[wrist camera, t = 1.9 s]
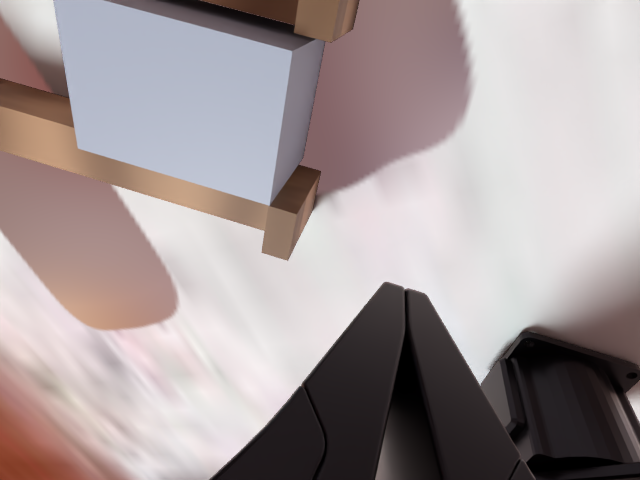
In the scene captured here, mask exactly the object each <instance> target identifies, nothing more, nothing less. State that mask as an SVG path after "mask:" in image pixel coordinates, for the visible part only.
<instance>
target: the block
mask: <svg viewBox="0 0 640 480" xmlns="http://www.w3.org/2000/svg"><path fill="white" fill-rule="evenodd" d="M53 1H54V7H55V13H56V19H57V25H58V31H59V37H60V43H61V49H62V55H63V62H64V68H65V74H66V80H67V86H68V92H69V98H70V104H71V110H72V116H73V122H74V128H75V134H76V140H77V146H78V149H81V150H85V151H88V152H91V153H95V154H98V155H101V156H105V157H108V158H111V159H115V160H118V161H121V162H125V163H128V164H131V165H135V166H138V167H142V168H145V169H148V170H152V171H155V172H158V173H162V174H165V175H168V176H172V177H175V178H178V179H182V180H185V181H188V182H192V183H195V184H198V185H202V186H205V187H208V188H212V189H215V190H218V191H222V192H225V193H228V194H232V195H235V196H239V197H242V198H245V199H249V200H252V201H255V202H259V203H262V204H265V205H269V206H270V204H271V203H272V202H273V200H274V199H275V197H276V196H277V194H278V193H279V192H280V190H281V189H282V187H283V186H284V185H285V183H286V182H287V180H288V179H289V177H290V176H291V175H292V173H293V172H294V170H295V169H296V167H297V166H298V165H299V163H300V162H301V160H302V159H303V156H304V151H305V145H306V140H307V135H308V130H309V124H310V119H311V114H312V109H313V104H314V98H315V93H316V88H317V82H318V77H319V72H320V66H321V61H322V56H323V51H324V46H325V41H323V40H319V39H315V38H311V37H308V36H304V35H300V34H296V33H294V28H295V25H291V24H288V23H284V22H280V21H276V20H272V19H269V18H265V17H261V16H257V15H254V14H250V13H246V12H242V11H238V10H235V9H231V8H227V7H223V6H219V5H216V4H212V3H208V2H204V1H201V0H53Z"/></svg>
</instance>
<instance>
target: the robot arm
mask: <svg viewBox="0 0 640 480" xmlns="http://www.w3.org/2000/svg"><path fill="white" fill-rule="evenodd" d="M526 341H530V342H526ZM639 380H640V367H639V366H638V365H636V364H633V363H630V362H627V361H624V360H620V359H617V358H614V357H611V356H607V355H604V354H601V353H598V352H594V351H591V350H588V349H585V348H581V347H578V346H575V345H572V344H568V343H565V342H562V341H559V340H555V339H552V338H549V337H546V336H542V335H539V334H536V333H532V332H524V333H522V334H520V335H519V336H518V338H517V339H516V340H515V342H514V343H513V344H512V346H511V347H510V348H509V350H508V351H507V352H506V354H505V355H504V356H503V358H501V359H499V360H498V361H497V363H496V364H495V365H494V367H493V368H492V369H491V371H490V372H489V374H488V375H487V376H486V378H485V379H484V380H483V382H482V383H481V386H480V385H479V383H478V381H477V380H476V378H475V376H474V374H473V373H472V371H471V369H470V368H469V366H468V364H467V363H466V361H465V359H464V357H463V356H462V354H461V352H460V351H459V349H458V347H457V346H456V344H455V342H454V340H453V339H452V337H451V335H450V334H449V332H448V330H447V329H446V327H445V325H444V323H443V322H442V320H441V318H440V317H439V315H438V313H437V312H436V310H435V308H434V307H433V305H432V303H431V301H430V300H429V298H428V296H427V295H426V294H425V293H422V292H419V291H416V290H412V289H409V288H407V289H405V290H404V288H403V287H402V286H399V285H396V284H393V283H390V282H384V283H383V284H382V285H381V286H380V288H379V289H378V290H377V291H376V293H375V294H374V295H373V296H372V298H371V299H370V300H369V301H368V303H367V304H366V305H365V306H364V307H363V309H362V310H361V311H360V312H359V314H358V315H357V316H356V317H355V319H354V320H353V321H352V322H351V323H350V325H349V326H348V327H347V328H346V330H345V331H344V332H343V333H342V335H341V336H340V337H339V338H338V339H337V341H336V342H335V343H334V344H333V346H332V347H331V348H330V349H329V351H328V352H327V353H326V354H325V356H324V357H323V358H322V359H321V360H320V362H319V363H318V364H317V365H316V367H315V368H314V369H313V370H312V372H311V373H310V374H309V375H308V376H307V378H306V379H305V380H304V381H303V383H302V385H301V386H299V387H298V388H297V390H296V391H295V392H294V393H293V394H292V396H291V397H290V398H289V399H288V401H287V402H286V403H285V404H284V405H283V406H282V408H281V409H280V410H279V411H278V412H277V413H276V414H275V415H274V417H273V418H272V419H271V420H270V421H269V422H268V423H267V425H266V426H265V427H264V428H263V429H262V430H261V431H260V432H259V433H258V434H257V435H256V436H255V437H254V438H253V439H252V440H251V441H250V442H249V443H248V444H247V445H246V446H245V447H244V448H243V449H242V450H241V451H240V452H239V453H237V454H236V455H235V456H234V457H233V458H232V459H231V460H230V461H229V462H228V463H227V464H226V465H224V466H223V467H222V468H221V469H220V470H219V471H218V472H217V473H216V474H215V475H214V476H213V477H212V478H210V479H209V480H640V423H639V421H638V419H637V417H636V415H635V412H634V410H633V408H632V406H631V404H630V402H629V400H628V398H627V396H626V394H625V393H626V392H627V391H628V390H629V389H630V388H631V387H633V386H634V385H635V384H636V383H637V382H638V381H639Z"/></svg>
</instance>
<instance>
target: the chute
mask: <svg viewBox="0 0 640 480" xmlns="http://www.w3.org/2000/svg"><path fill="white" fill-rule="evenodd" d="M202 1H206V2H210V3H214V4H218V5H221V6H225V7H229V8H233V9H236V10H240V11H244V12H248V13H252V14H255V15H259V16H263V17H267V18H271V19H275V20H278V21H282V22H286V23H290V24H293V25H295V28H294V33H296V34H300V35H304V36H308V37H311V38H315V39H319V40H323V41H327V42H330V43H332V42H333V41H335V40H336V39H338V38H340V37H341V36H343V35H344V34H346V33H348V32H349V31H351V30H352V29H353V26H354V22H355V18H356V13H357V9H358V4H359V0H202ZM0 150H1V151H4V152H7V153H10V154H14V155H17V156H20V157H24V158H27V159H30V160H34V161H37V162H40V163H43V164H46V165H50V166H53V167H57V168H60V169H63V170H67V171H70V172H73V173H76V174H79V175H83V176H86V177H89V178H93V179H96V180H99V181H103V182H106V183H109V184H112V185H116V186H119V187H122V188H125V189H129V190H132V191H135V192H139V193H142V194H145V195H148V196H152V197H155V198H158V199H162V200H165V201H168V202H171V203H175V204H178V205H181V206H185V207H188V208H191V209H195V210H198V211H201V212H204V213H208V214H211V215H214V216H218V217H221V218H224V219H227V220H231V221H234V222H237V223H241V224H244V225H247V226H250V227H254V228H257V229H260V230H264V231H265V233H264V239H263V246H262V253H265V254H268V255H271V256H274V257H278V258H281V259H284V260H287V261H288V259H289V257H290V255H291V253H292V251H293V249H294V247H295V245H296V243H297V241H298V239H299V237H300V235H301V233H302V231H303V229H304V227H305V225H306V223H307V221H308V219H309V217H310V215H311V213H312V210H313V205H314V201H315V196H316V192H317V187H318V183H319V178H320V174H321V171H319V170H315V169H312V168H308V167H305V166H301V165H298V166H297V167H296V169H295V170H294V172H293V173H292V175H291V176H290V177H289V179H288V180H287V182H286V183H285V185H284V186H283V187H282V189H281V190H280V192H279V193H278V194H277V196H276V197H275V199H274V200H273V202H272V203H271V204H270V206H269V205H265V204H262V203H259V202H255V201H252V200H249V199H245V198H242V197H239V196H235V195H232V194H228V193H225V192H222V191H218V190H215V189H212V188H208V187H205V186H202V185H198V184H195V183H192V182H188V181H185V180H182V179H178V178H175V177H172V176H168V175H165V174H162V173H158V172H155V171H152V170H148V169H145V168H142V167H138V166H135V165H131V164H128V163H125V162H121V161H118V160H115V159H111V158H108V157H105V156H101V155H98V154H95V153H91V152H88V151H85V150H81V149H78V146H77V140H76V134H75V128H74V122H73V116H72V110H71V104H70V98H67V97H63V96H60V95H56V94H53V93H49V92H46V91H42V90H39V89H36V88H32V87H29V86H25V85H22V84H18V83H15V82H11V81H8V80H5V79H1V78H0Z"/></svg>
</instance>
